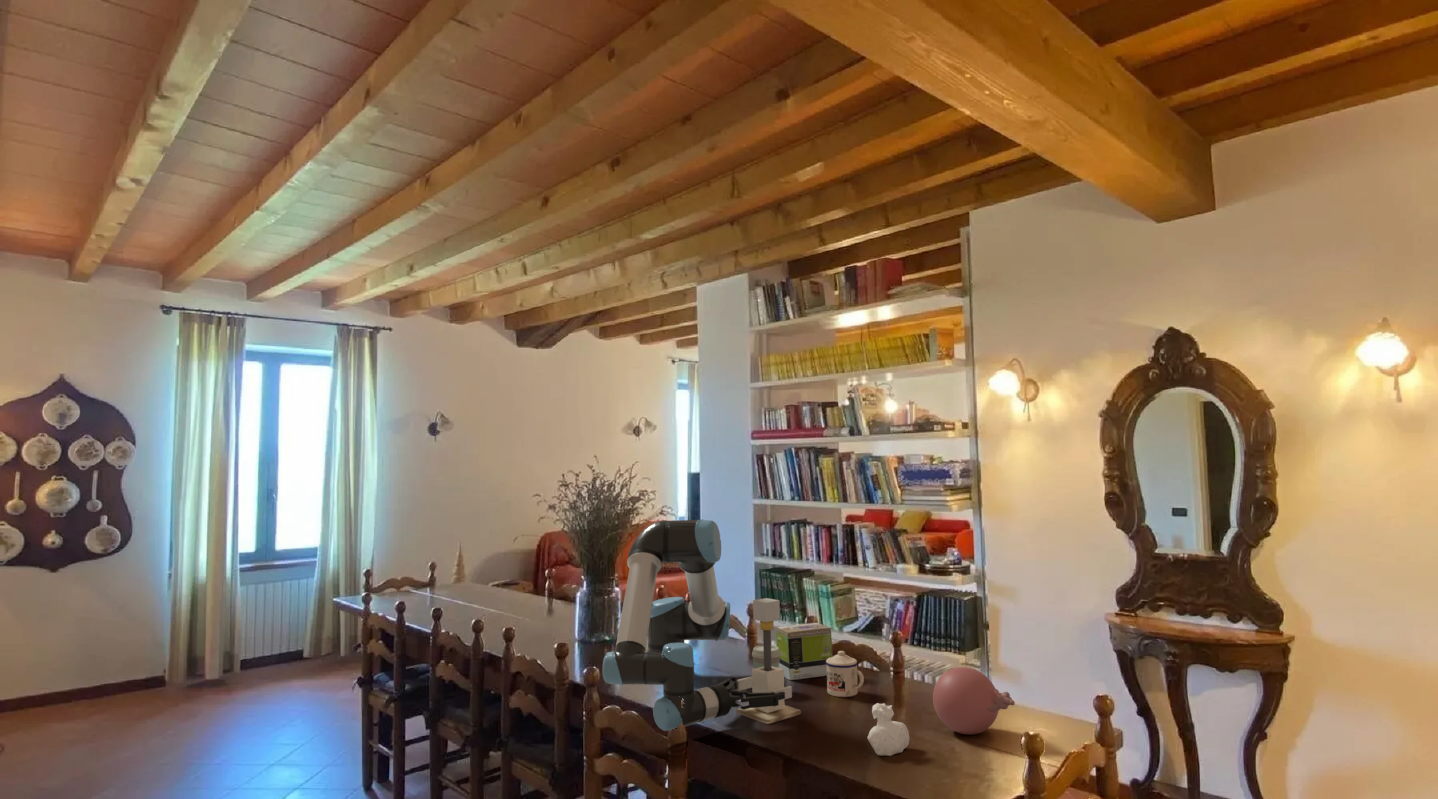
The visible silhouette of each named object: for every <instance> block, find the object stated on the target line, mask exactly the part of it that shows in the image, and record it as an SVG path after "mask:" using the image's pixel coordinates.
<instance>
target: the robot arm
mask: <svg viewBox="0 0 1438 799" xmlns="http://www.w3.org/2000/svg"><path fill="white" fill-rule="evenodd" d="M718 526H719V525H718V524H717V523H716V522H715V521H713V520H708V519H702V518H701V519H683V520H682V519H680V520H677V519H676V520H673V519H672V520H667V519H664V520H663V519H662V520H658V521H655V522H653V523H651V524H649V525H648V526H646V527H645V528H644V529H643V530H642V531H641V532H640V533H639V534H638V535H637V537H636V538H635V540H634V541H633V543H632V544H631V546H630V548H629V552H628V553H627V561H626V565H627V567H628V568H629V571H628V574H627V575H628V576H627V581H626V586H625V591H624V597H623V598H624V599H623V604H622V610H621V615H620V620H619V625H618V626H619V627H618V630H617V638H616V644H615V650H614V651H608V652H606V653H605V655H604V657H603V661H602V677H603V680H604V682H605V683H606V684H610V685H619V686H624V685H647V686H651V685H652V686H653V685H654V686H662V687H663V688H662V690H663V693H662V695H663V696H662V697H660V698H658V699H657V700H656V701H655V702H654V706H653V707H652V713H653V719H654V721H655V724H656V725H657V727H658V728H659V729H660V730H662V731H664V732H668V731H673V730H672V729H674V730H676V729H675V728H677V727H678V726H679V725H680V724H681V722H682V723H683V725H684V727H683V728H685V727H689V726H692V725H694V724H699V723H700V724H704V721H705V722H706V721H709V720H712V719H716V718H721V717H723V716H726V715H728V714H729V713H730V711H731V709H732V708H738V707H740V708H741V709H743V710H744V709H748V708H756V707H767V706H773V707H775V706H778V705H779V704H778V701H780V700H787V699H791V698H792V697H793V689H792V688H793V687H792V686H791V685H788V686H784V688H780V689H777V690H773V691H771V692H767V693H752V692H749V691H748V690H747V689H752V675H751V676H748V677H743V678H740V679H737V678H736V677H735V676H731V680H730V679H729V678H726V679H724V680H723V681H721V682H719V683H717V684H714V685H709V686H705V687H701V688H697V689H695V662H694V648H693V646H692V645H691V644H689V643H686V642H685V641H715V642H717V641H724V640H727V639H728V638H729V633H730V632H729V631H730V621H731V620H730V619H731V603H730V602H729V601H728V602H727V601H725V600H724V599H723V598H722V597H721V596H720V595H719V591H718V585H717V580H716V579H717V578H716V573H715V567H714V566H715V565H716V563H717V562H719V561H720V559H721V556H722V539H721V533H720V529H719V527H718ZM663 563H677V565H678V567H679V568H680V569H681V570H682V571H683V572H684V574H685V579H686V584H687V588H688V593H689V598H690V601H685V598H684V597H682V596H672V597H665V598H661V599H656V600H654V597H655V590H656V589H655V588H656V580H657V574H658V573H659V572H660V571H661V569H662V566H663ZM646 649H647V651H646ZM679 696H680V697H679ZM682 698H683V699H684V701H683V702H684V703H685V704H683V707H684V708H681V700H682Z"/></svg>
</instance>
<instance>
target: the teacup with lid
mask: <svg viewBox="0 0 1438 799" xmlns="http://www.w3.org/2000/svg"><path fill="white" fill-rule="evenodd" d="M832 656H833V657H831V658H828V659H827V660H826V664H827V676H826V687H827V688H826V691H827V694H828V695H831V696H833V697H837V698H839V697H840V698H848V697H849V698H850V697H855V696H856V695H857V694H858V692H859V691H858V689H859V688H861V687H863V684H864V681H865V677H864V674H863V673H862V671H860V670H858V664H859V663H858V660H857V659H856V658H853V657H851V656H849V655H847V654H846V652H845V651H844V650H839V651H837V654H835V655H832ZM858 676H859V682H858Z"/></svg>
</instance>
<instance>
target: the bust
mask: <svg viewBox="0 0 1438 799" xmlns="http://www.w3.org/2000/svg"><path fill="white" fill-rule="evenodd" d="M871 714H872V717H873V719H874V720H875V719H877V720H876V722H877V723H876V725H874V726H873V727H872V728H871V729H870V730H869V733H868V736H867V740H868V742H869V743H870V745H871V747H872V749H873V750H874V752H875V754H876V755H877V756H881V757H882V756H888V757H891V756H893V755H895V754H896V755H897V754H899V753H903V751H904V749H906V748H907V747H908V745H909V743H910V734H909V731H910V730H909V729H908V728H907V726H906V724H904V722H899V721H894V720H892V719H893V717H894V715H895V712H894V710H893V704H892V705H887V704H886V703H880V702H879V703H878V702H877V703H875V704H873V705H872V708H871Z"/></svg>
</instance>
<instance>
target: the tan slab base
mask: <svg viewBox="0 0 1438 799" xmlns="http://www.w3.org/2000/svg"><path fill="white" fill-rule="evenodd" d="M736 714H737V715H741V716H743V717H746V718H748V719H752V720H755V721H757V722H760V723H763V724H766V725H769V724H773V723H776V722H780V721H783V720H786V719H787V720H788V719H790V718H793V717H796V716H800V715H802V710H801V709H798V708H795V707H792V706H789V705H786V704H785V708H783V709H780V710H776V711H773V712H770V713H767V712H764V711H761V710H758V709H755V708H748V709H744V710H743V709H741V707H740V708H737V709H736Z"/></svg>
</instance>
